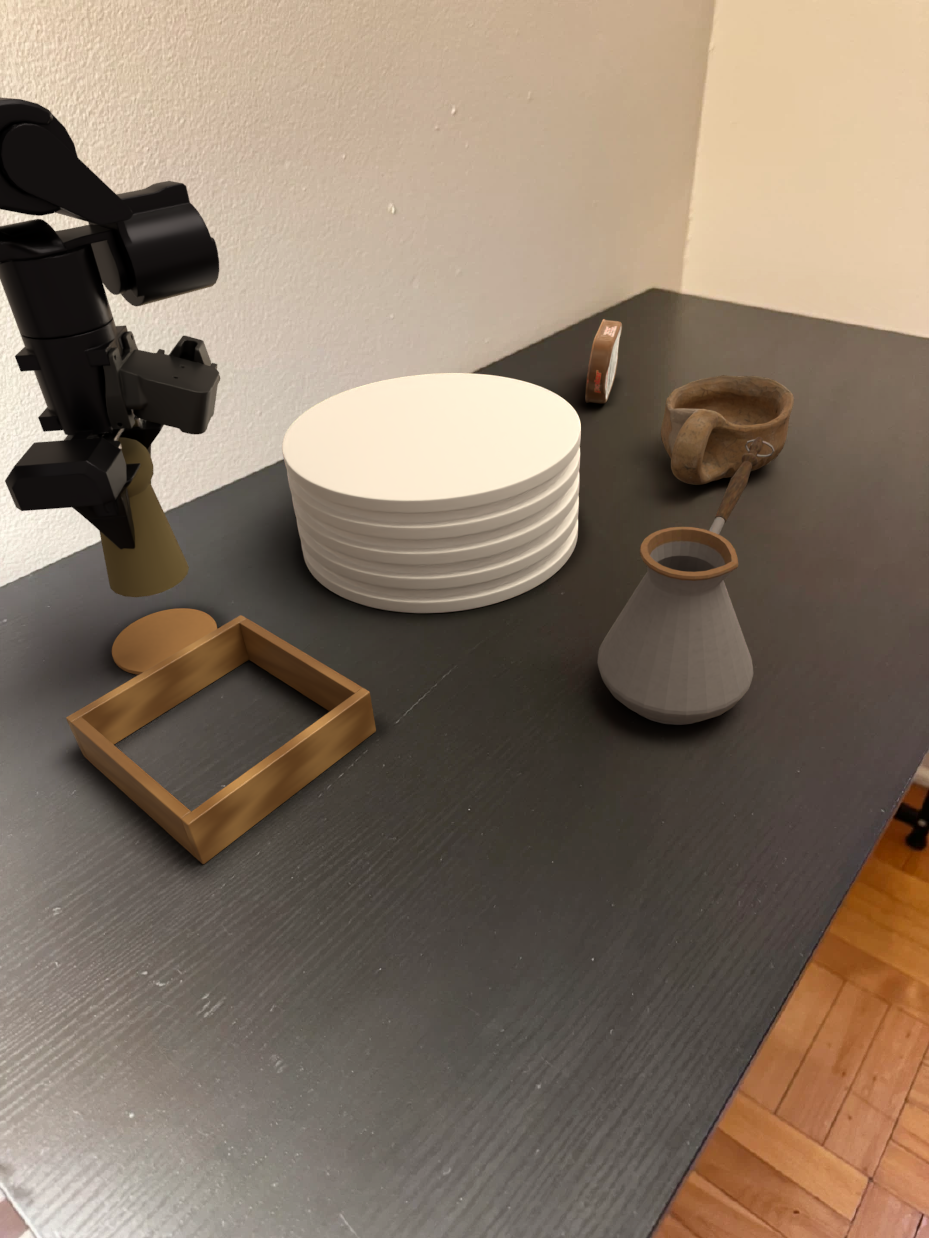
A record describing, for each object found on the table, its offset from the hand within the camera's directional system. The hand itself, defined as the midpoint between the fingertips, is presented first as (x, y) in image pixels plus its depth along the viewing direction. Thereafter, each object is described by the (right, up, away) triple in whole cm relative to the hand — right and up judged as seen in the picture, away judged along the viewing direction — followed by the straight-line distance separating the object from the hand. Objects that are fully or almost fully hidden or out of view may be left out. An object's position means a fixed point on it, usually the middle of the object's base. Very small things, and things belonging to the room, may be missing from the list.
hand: (136, 532), depth 64 cm
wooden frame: (+7, -16, 0) cm, 17 cm away
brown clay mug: (+53, +10, +30) cm, 61 cm away
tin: (+43, +24, +50) cm, 70 cm away
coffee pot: (+43, -10, +5) cm, 45 cm away
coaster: (-2, -9, +10) cm, 13 cm away
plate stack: (+22, +2, +23) cm, 32 cm away
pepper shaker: (0, -3, +2) cm, 4 cm away
